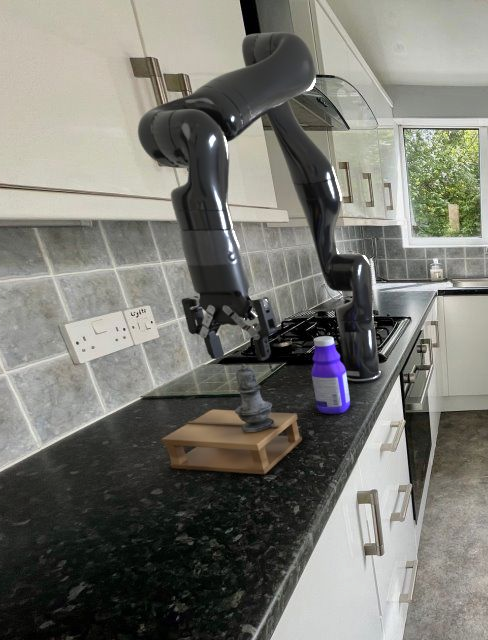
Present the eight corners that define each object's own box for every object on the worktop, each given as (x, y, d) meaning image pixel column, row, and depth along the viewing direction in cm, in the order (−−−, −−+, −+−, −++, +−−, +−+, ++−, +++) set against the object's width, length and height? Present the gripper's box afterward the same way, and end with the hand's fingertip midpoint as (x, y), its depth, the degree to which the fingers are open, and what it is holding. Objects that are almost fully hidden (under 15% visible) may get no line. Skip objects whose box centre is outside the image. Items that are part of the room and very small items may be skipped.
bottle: (355, 405, 98) (344, 335, 91) (344, 416, 92) (332, 342, 86) (326, 404, 98) (313, 334, 92) (314, 414, 93) (300, 341, 87)
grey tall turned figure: (260, 434, 72) (244, 370, 67) (231, 431, 73) (214, 368, 68) (282, 419, 77) (269, 359, 73) (256, 416, 78) (241, 357, 74)
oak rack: (220, 435, 84) (212, 407, 82) (302, 440, 83) (296, 412, 80) (171, 468, 73) (160, 437, 71) (264, 474, 71) (256, 443, 69)
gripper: (272, 258, 67) (292, 352, 73) (192, 257, 68) (218, 350, 74) (241, 263, 60) (265, 367, 66) (153, 262, 61) (185, 364, 67)
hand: (240, 358), depth 70 cm, fingers open, 8 cm apart
